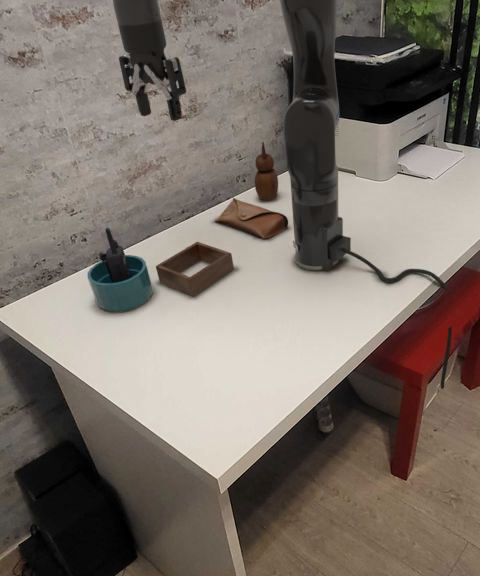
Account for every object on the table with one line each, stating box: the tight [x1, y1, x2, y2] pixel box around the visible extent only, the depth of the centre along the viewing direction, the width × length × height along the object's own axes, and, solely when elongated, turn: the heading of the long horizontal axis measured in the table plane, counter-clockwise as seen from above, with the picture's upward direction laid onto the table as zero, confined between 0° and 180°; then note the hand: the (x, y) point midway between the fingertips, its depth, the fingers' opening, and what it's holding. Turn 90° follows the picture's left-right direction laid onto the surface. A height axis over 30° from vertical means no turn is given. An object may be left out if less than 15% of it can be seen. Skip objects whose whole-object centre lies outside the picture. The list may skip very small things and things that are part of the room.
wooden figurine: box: [254, 141, 279, 201], centre depth 135 cm, size 7×6×15 cm
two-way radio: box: [98, 227, 132, 283], centre depth 102 cm, size 6×4×15 cm
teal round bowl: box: [87, 254, 154, 313], centre depth 105 cm, size 11×11×6 cm
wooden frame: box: [155, 241, 235, 297], centre depth 110 cm, size 10×12×4 cm
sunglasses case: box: [214, 197, 289, 239], centre depth 127 cm, size 18×7×7 cm, turn 50°
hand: (161, 117), depth 102 cm, fingers open, 8 cm apart
